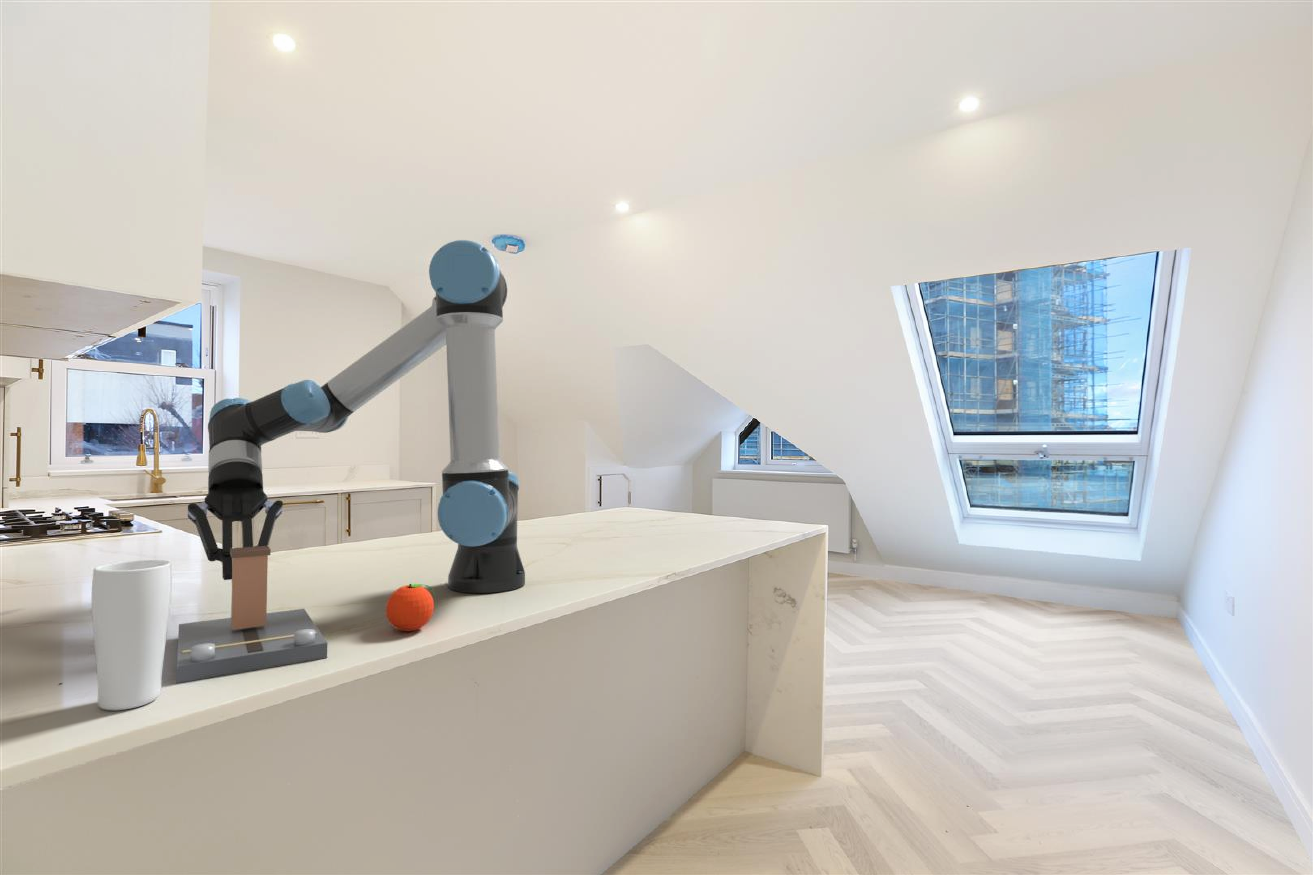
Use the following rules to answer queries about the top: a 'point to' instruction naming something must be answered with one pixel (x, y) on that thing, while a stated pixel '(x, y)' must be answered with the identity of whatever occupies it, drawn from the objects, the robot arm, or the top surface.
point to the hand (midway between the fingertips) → (238, 595)
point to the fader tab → (249, 586)
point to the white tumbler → (130, 630)
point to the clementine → (410, 607)
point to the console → (247, 645)
